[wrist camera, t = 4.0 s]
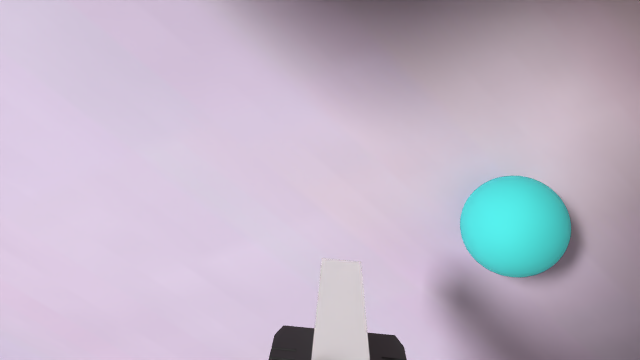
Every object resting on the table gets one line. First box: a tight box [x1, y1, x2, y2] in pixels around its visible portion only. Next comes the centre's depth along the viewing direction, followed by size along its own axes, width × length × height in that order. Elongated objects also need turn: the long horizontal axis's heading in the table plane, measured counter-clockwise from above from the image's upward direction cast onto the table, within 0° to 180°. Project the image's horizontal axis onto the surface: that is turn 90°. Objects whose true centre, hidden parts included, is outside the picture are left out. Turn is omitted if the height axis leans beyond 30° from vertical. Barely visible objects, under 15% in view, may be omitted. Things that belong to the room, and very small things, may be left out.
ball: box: [460, 176, 571, 277], centre depth 23 cm, size 6×6×6 cm
